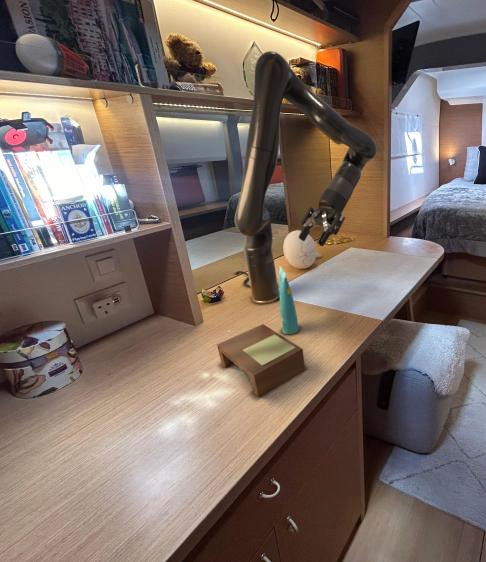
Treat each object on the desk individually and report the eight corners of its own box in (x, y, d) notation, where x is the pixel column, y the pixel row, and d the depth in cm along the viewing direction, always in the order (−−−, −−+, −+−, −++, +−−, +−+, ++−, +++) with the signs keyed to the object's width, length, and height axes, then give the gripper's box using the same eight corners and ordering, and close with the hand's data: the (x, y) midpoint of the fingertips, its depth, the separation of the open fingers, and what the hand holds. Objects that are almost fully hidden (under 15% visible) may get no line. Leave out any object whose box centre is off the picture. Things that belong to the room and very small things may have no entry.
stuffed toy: (295, 240, 130) (327, 217, 149) (268, 240, 136) (302, 218, 155) (307, 283, 139) (336, 256, 158) (281, 280, 145) (312, 255, 164)
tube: (302, 333, 99) (294, 272, 91) (286, 338, 96) (277, 276, 89) (294, 322, 105) (286, 264, 97) (278, 327, 102) (269, 267, 95)
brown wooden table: (221, 364, 87) (216, 343, 84) (266, 342, 95) (262, 323, 93) (258, 397, 75) (253, 374, 72) (305, 369, 83) (302, 348, 81)
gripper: (313, 186, 102) (286, 231, 99) (346, 189, 93) (317, 239, 90) (328, 201, 108) (303, 244, 105) (360, 205, 98) (334, 253, 96)
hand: (310, 242), depth 97 cm, fingers open, 8 cm apart
